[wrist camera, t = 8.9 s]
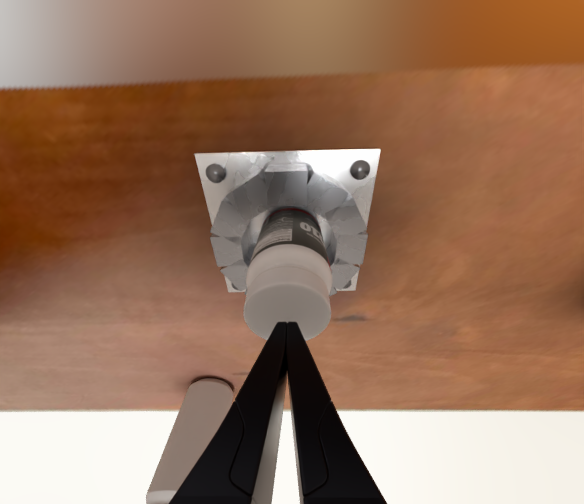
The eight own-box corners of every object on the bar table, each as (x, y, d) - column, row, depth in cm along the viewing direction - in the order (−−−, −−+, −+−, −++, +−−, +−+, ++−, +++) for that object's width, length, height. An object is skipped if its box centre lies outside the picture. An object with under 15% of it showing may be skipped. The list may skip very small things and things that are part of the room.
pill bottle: (329, 245, 17) (355, 333, 10) (279, 266, 18) (270, 358, 11) (305, 194, 15) (315, 259, 8) (249, 222, 16) (213, 301, 9)
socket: (377, 148, 14) (397, 153, 11) (353, 286, 20) (362, 310, 17) (197, 152, 14) (175, 159, 11) (230, 287, 20) (220, 312, 18)
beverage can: (183, 376, 29) (123, 513, 19) (228, 374, 29) (192, 513, 18) (199, 398, 32) (155, 525, 22) (239, 396, 32) (214, 524, 22)
